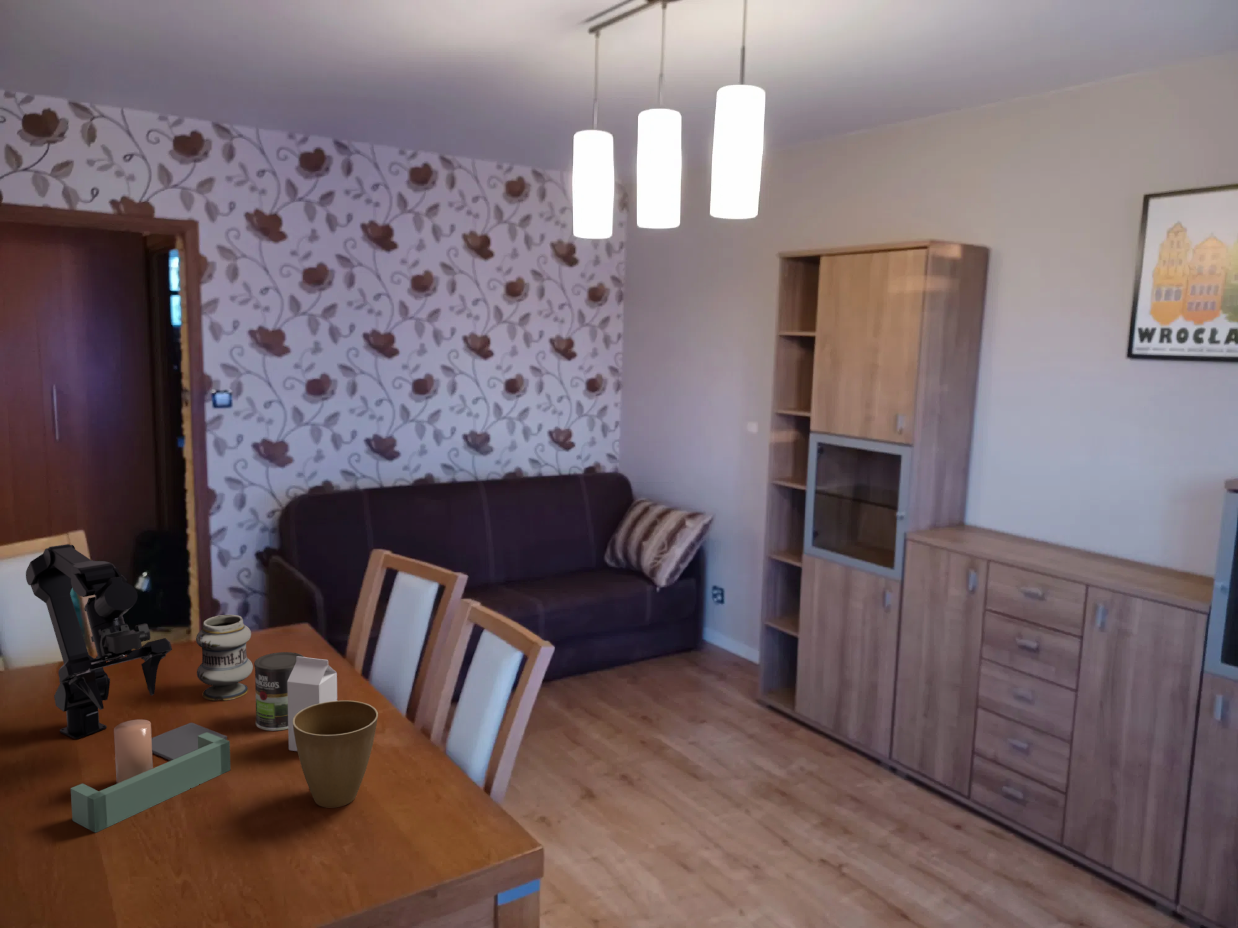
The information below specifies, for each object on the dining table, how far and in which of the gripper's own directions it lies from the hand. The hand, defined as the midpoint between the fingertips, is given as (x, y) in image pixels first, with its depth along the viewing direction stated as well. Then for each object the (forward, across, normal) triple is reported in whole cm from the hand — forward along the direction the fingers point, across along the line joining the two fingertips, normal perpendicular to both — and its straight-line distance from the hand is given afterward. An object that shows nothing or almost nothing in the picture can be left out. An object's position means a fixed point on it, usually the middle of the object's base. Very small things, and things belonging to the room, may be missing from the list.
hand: (127, 701), depth 167 cm
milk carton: (+21, +29, -8) cm, 36 cm away
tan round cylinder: (+15, -2, +1) cm, 15 cm away
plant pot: (+32, +20, -27) cm, 46 cm away
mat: (+10, +11, +10) cm, 18 cm away
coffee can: (+13, +30, +5) cm, 33 cm away
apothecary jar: (+1, +30, +25) cm, 39 cm away
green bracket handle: (+19, -1, -5) cm, 19 cm away
